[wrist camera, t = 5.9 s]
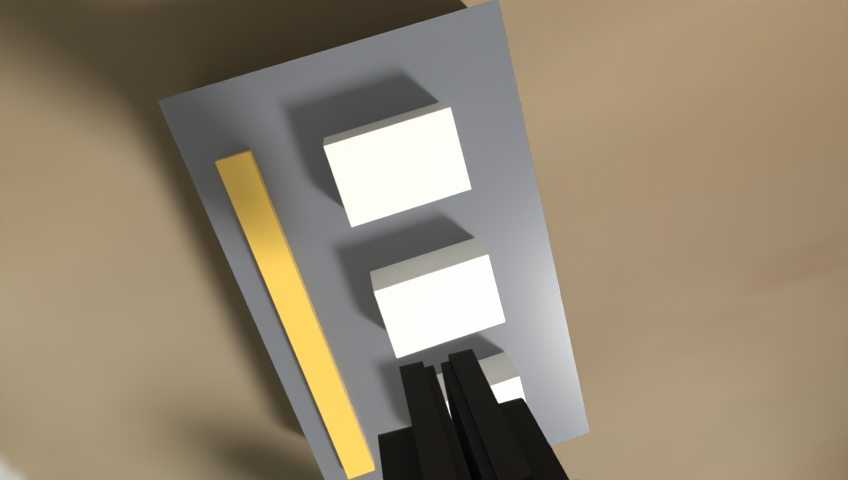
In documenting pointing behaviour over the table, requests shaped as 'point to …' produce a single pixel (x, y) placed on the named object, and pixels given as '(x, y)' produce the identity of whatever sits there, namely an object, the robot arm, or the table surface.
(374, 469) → the switch panel
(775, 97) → the table surface
